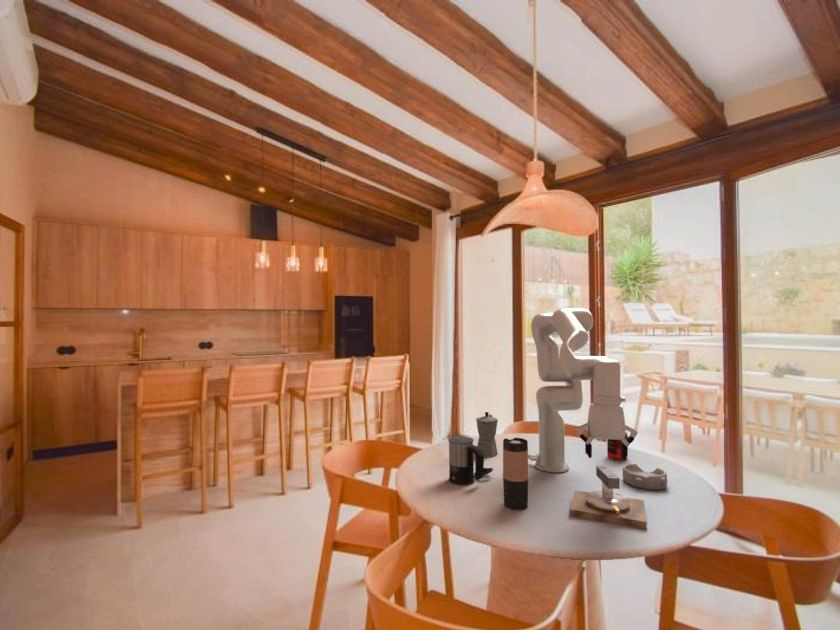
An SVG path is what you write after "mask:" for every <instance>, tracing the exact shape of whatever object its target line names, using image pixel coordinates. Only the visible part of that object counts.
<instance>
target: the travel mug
mask: <svg viewBox="0 0 840 630" xmlns="http://www.w3.org/2000/svg"><path fill="white" fill-rule="evenodd" d="M528 447H529V443H528V440H527V439H525V438H522V437H521V438H520V437H513V438H511V439H508V437H507V438H504V439H503V441H502V485H503V488H502V489H503V504H504V507H505V508H507V509H509V510H513V511H524V510H526V509H527V508H528V504H529V459H528V454H529V448H528Z"/></svg>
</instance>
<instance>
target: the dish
mask: <svg viewBox="0 0 840 630" xmlns="http://www.w3.org/2000/svg"><path fill="white" fill-rule="evenodd" d="M667 474H668V473H667V471H665V470H664V469H662V468H659V467H656V468H655V469H654V470H653V471H651V472H650V471H645V470H644V469H642V468H641V467H640V466H639V465H638V464H637V463H627V464H625V465H624V466H623V467H622V478H623V480H624V482H625V483H627V484H629V485H631V486H633V487H636V488H638V489H643V490H644V489H645V490H663V489H665V488H667V486H668V475H667Z"/></svg>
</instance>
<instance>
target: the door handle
mask: <svg viewBox="0 0 840 630" xmlns="http://www.w3.org/2000/svg"><path fill="white" fill-rule="evenodd" d="M595 468H596V469H595V470H596V472H595V475H596V477H597V478H598V479H599V480H600V481H601V487H602V488H601V489H602V490H594V491H589V492H590V493H588V494H587V495H586V502H587V504H588V505H590V506H591V507H593V508H596V509H599V510H602V511H607V512H616V513H619V512H624V511H627V510H629V509H630V501H629V499H628V498H629V497H626V496H625V495H622V494H621V493H620V494H619V493H616V492H614V489H615V490H620V488H621V487H620V486H621V485H620V483H621V482H620V481H621V480H620V477H619V476H618V475H617V474H615V473H614V471H612V470H611V469H610V468H609V467H608V466H607V465H595Z"/></svg>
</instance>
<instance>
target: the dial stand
mask: <svg viewBox="0 0 840 630" xmlns="http://www.w3.org/2000/svg"><path fill="white" fill-rule="evenodd" d="M590 492H591V491H582V490H578V489H575V490H574V493H573V497H572V500H571V502H570V507H569V517H573V518H579V519H585V520H590V521H597V522H603V523H608V524H614V525H620V526H625V527H631V528H637V529H642V530H647V529H648V528H647V524H648V523H647V515H646V513H647V512H646V507H645V505H646V504H645V500H643V499H636V498H630V497H627V498H628V499H629V501H630V509H629V510H627V511H624V512H619V513H616V512H607V511H602V510H599V509H596V508H593V507H591V506H590V505H588V504H587V502H586V495H587V494H588V493H590Z"/></svg>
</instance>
